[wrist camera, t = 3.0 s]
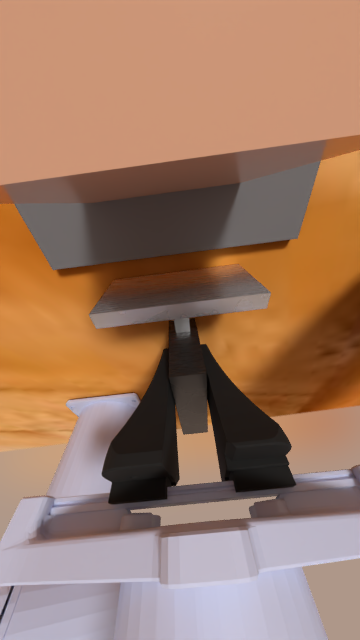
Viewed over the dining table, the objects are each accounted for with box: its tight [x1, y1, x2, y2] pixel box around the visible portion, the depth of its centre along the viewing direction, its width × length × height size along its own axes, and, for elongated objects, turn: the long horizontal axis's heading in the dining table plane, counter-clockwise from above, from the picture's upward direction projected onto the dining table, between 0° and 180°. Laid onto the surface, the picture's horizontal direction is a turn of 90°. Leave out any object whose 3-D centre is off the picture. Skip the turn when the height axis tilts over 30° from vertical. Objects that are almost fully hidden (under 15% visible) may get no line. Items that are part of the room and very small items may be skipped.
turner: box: [89, 264, 271, 434], centre depth 12 cm, size 12×8×5 cm
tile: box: [0, 0, 360, 204], centre depth 4 cm, size 2×7×7 cm, turn 97°
